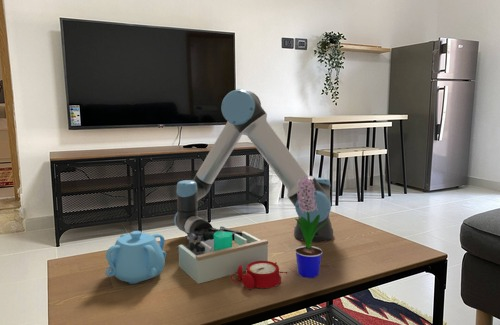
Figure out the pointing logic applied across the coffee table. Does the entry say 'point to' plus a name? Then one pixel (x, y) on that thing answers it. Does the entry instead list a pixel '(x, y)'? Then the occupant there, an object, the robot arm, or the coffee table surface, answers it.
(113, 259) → the decorative pot
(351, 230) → the coffee table surface
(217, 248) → the candle
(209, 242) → the slate tile
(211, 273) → the white u-shaped frame
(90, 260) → the coffee table surface
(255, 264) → the alarm clock
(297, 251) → the hyacinth
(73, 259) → the coffee table surface
